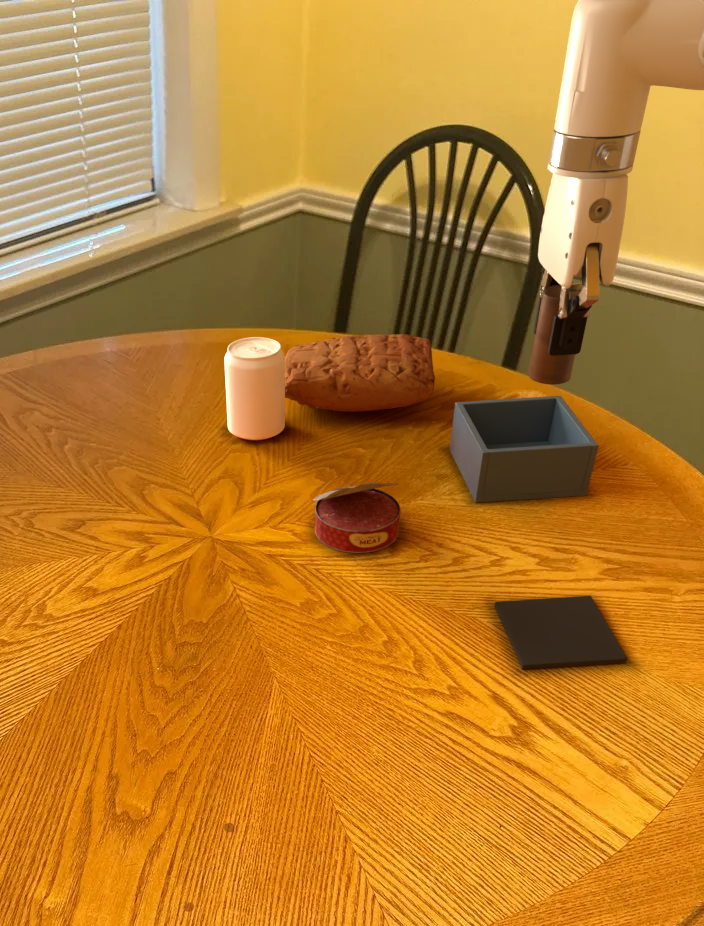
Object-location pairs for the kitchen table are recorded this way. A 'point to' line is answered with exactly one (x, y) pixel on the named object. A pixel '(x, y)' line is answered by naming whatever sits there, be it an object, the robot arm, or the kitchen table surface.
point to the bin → (522, 449)
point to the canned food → (357, 518)
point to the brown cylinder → (542, 362)
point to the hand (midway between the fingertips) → (556, 342)
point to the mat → (559, 632)
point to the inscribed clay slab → (360, 372)
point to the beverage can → (255, 388)
